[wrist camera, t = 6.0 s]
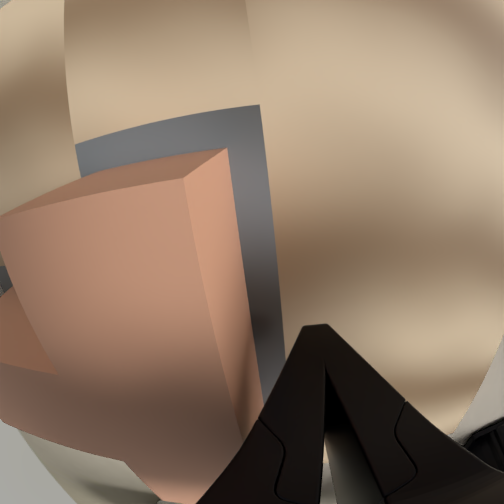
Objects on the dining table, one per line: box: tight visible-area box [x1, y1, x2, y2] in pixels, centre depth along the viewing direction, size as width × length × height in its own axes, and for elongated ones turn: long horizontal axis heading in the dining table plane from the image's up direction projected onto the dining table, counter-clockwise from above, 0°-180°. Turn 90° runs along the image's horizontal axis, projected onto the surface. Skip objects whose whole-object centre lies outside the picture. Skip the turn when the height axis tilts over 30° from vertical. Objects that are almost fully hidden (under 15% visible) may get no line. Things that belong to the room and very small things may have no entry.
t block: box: [0, 148, 264, 504], centre depth 7 cm, size 10×9×4 cm
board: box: [0, 0, 504, 463], centre depth 9 cm, size 22×20×1 cm
